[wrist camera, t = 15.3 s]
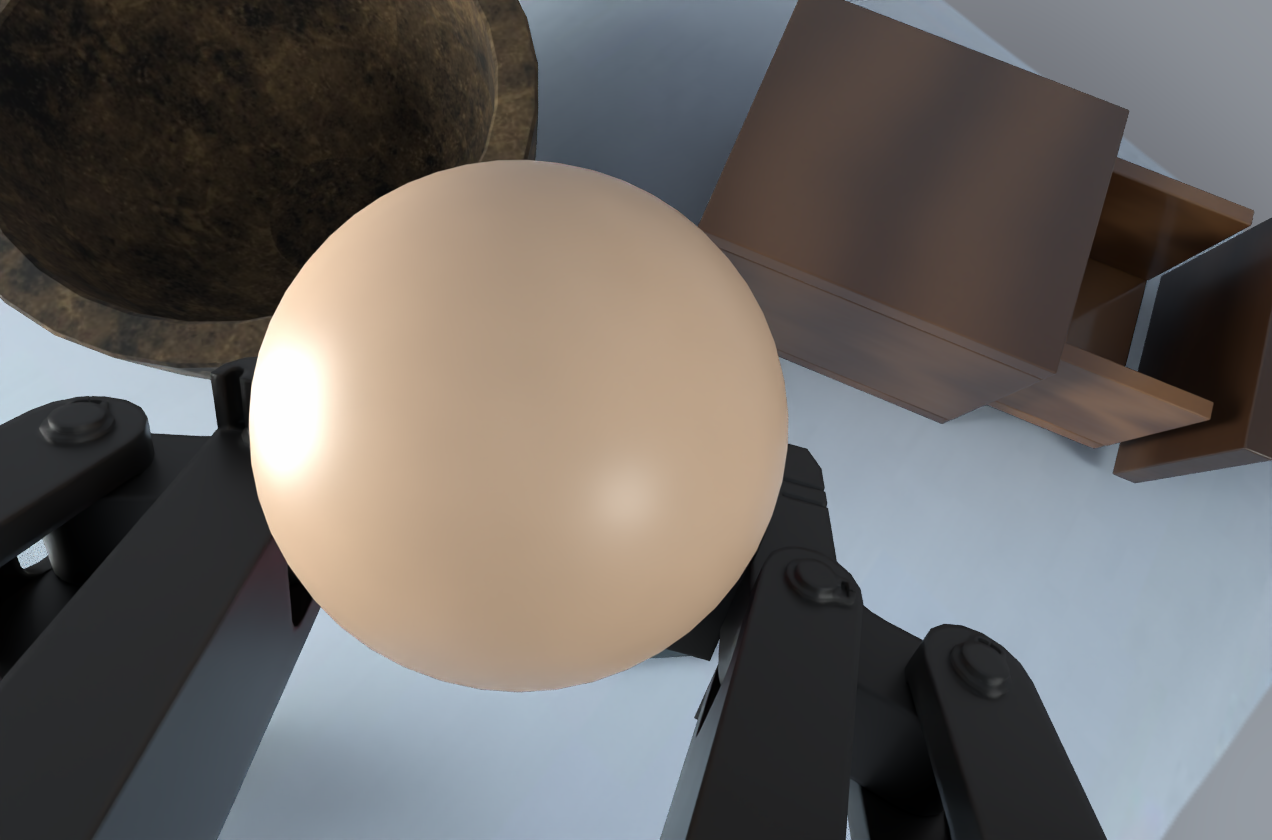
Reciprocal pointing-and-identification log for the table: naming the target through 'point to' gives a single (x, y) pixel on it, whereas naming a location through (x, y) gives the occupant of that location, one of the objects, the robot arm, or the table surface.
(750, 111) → the cabinet
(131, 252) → the bowl
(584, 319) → the ball-topped pink peg
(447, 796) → the table surface
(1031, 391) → the drawer
